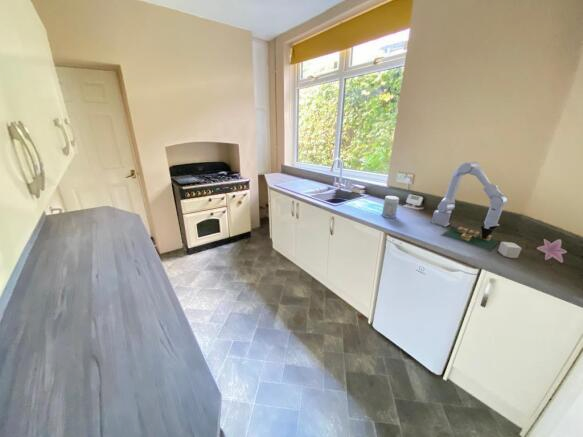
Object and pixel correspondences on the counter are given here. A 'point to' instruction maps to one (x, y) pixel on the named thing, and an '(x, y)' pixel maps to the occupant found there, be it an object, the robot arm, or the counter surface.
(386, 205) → the supplement tub
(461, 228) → the letter i
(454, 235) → the word mat
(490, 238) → the letter s
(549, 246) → the lily
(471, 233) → the letter t
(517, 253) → the white cube
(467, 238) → the letter o
